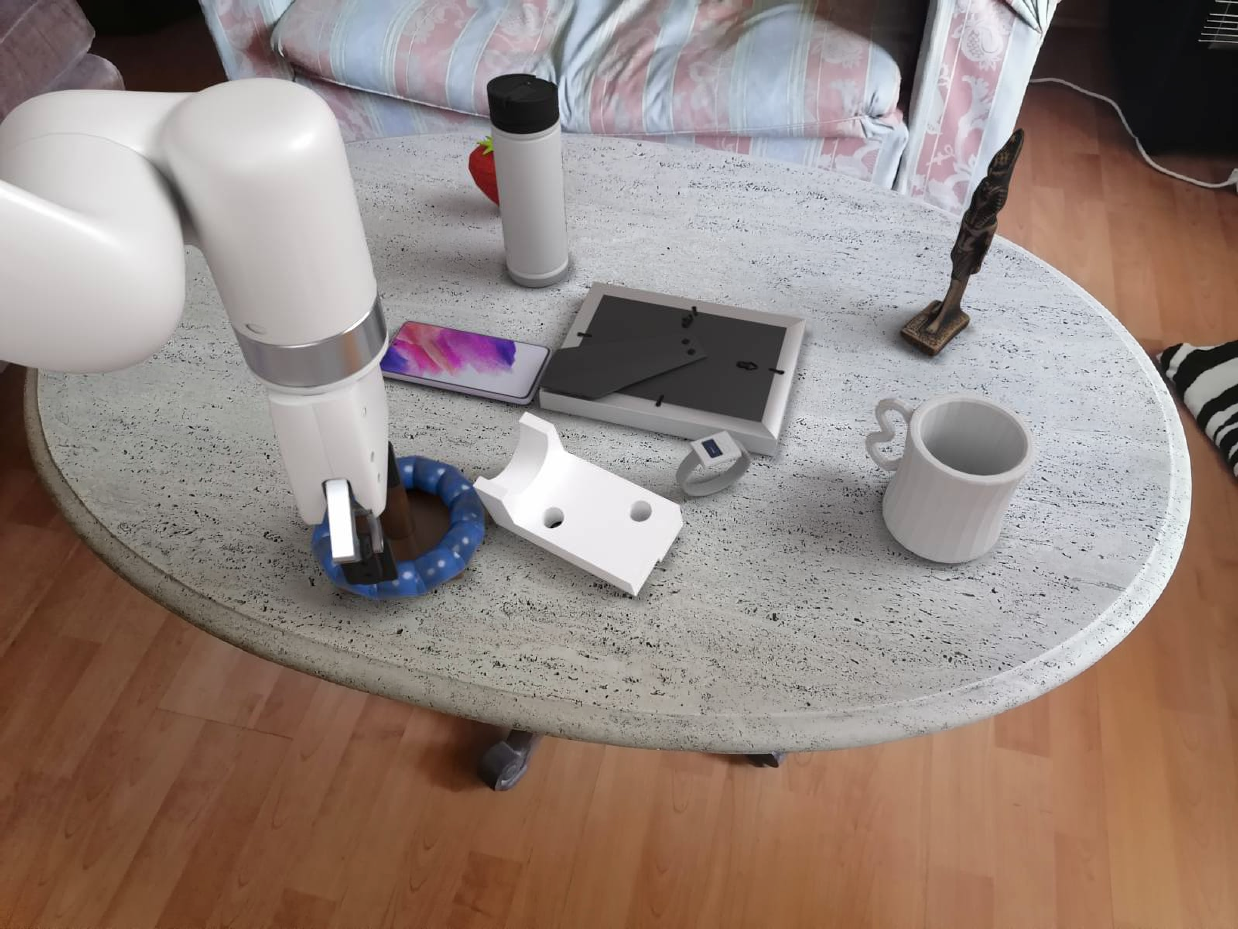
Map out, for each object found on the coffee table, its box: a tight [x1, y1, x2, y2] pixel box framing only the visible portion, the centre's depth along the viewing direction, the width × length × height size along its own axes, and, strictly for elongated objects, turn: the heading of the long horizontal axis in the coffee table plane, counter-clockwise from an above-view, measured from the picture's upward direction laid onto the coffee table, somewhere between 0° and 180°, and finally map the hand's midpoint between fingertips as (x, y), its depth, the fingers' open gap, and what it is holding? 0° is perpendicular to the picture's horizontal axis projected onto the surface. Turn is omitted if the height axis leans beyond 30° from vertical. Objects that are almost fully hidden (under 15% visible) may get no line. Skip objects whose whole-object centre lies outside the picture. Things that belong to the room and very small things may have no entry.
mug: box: [864, 392, 1038, 564], centre depth 72 cm, size 12×9×10 cm
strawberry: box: [467, 135, 500, 209], centre depth 100 cm, size 6×8×10 cm
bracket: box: [473, 411, 684, 597], centre depth 72 cm, size 13×7×8 cm, turn 58°
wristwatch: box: [675, 431, 752, 497], centre depth 76 cm, size 6×3×5 cm, turn 114°
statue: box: [899, 127, 1026, 357], centre depth 82 cm, size 4×7×20 cm, turn 137°
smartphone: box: [379, 320, 553, 405], centre depth 87 cm, size 7×1×15 cm
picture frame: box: [538, 281, 808, 457], centre depth 86 cm, size 16×3×21 cm
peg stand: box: [339, 439, 464, 595], centre depth 70 cm, size 9×9×10 cm
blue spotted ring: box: [311, 454, 486, 602], centre depth 72 cm, size 13×13×3 cm
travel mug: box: [485, 72, 570, 288], centre depth 89 cm, size 6×7×20 cm
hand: (375, 529), depth 63 cm, fingers open, 7 cm apart
